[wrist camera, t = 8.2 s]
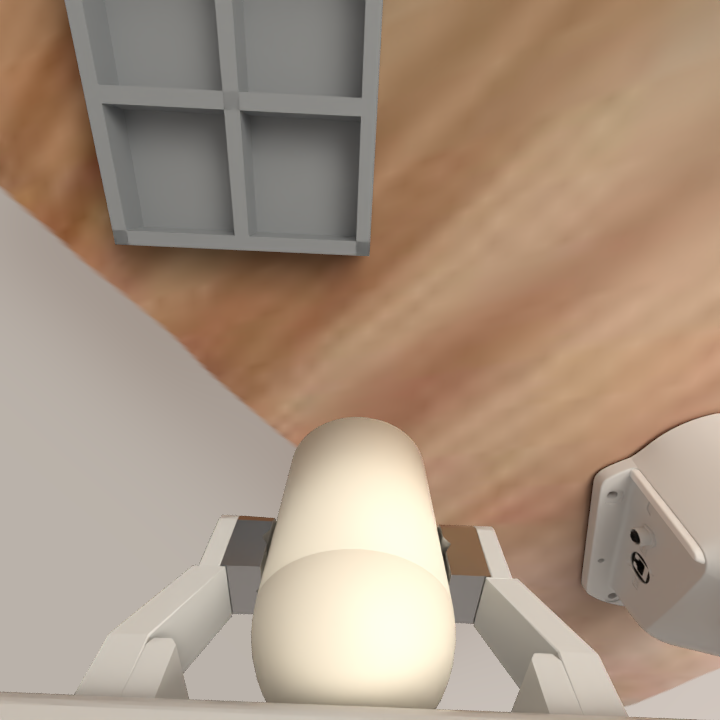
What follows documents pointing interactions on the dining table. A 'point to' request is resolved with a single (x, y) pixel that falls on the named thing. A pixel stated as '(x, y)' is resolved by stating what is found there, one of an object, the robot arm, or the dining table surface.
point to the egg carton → (233, 120)
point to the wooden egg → (355, 577)
